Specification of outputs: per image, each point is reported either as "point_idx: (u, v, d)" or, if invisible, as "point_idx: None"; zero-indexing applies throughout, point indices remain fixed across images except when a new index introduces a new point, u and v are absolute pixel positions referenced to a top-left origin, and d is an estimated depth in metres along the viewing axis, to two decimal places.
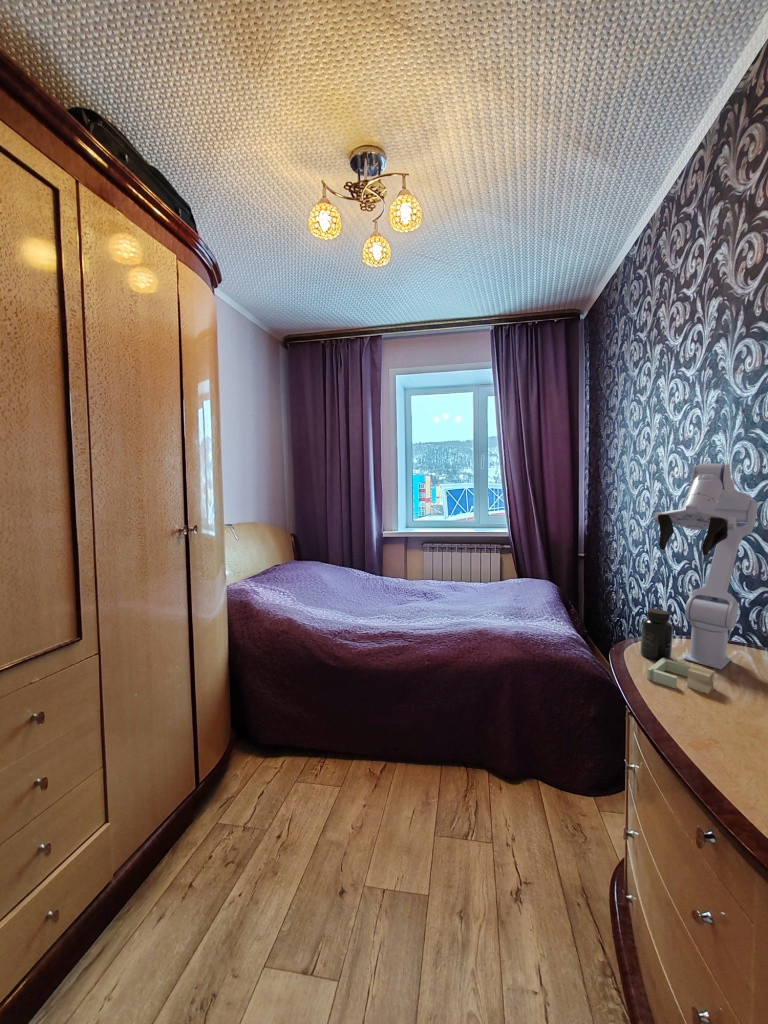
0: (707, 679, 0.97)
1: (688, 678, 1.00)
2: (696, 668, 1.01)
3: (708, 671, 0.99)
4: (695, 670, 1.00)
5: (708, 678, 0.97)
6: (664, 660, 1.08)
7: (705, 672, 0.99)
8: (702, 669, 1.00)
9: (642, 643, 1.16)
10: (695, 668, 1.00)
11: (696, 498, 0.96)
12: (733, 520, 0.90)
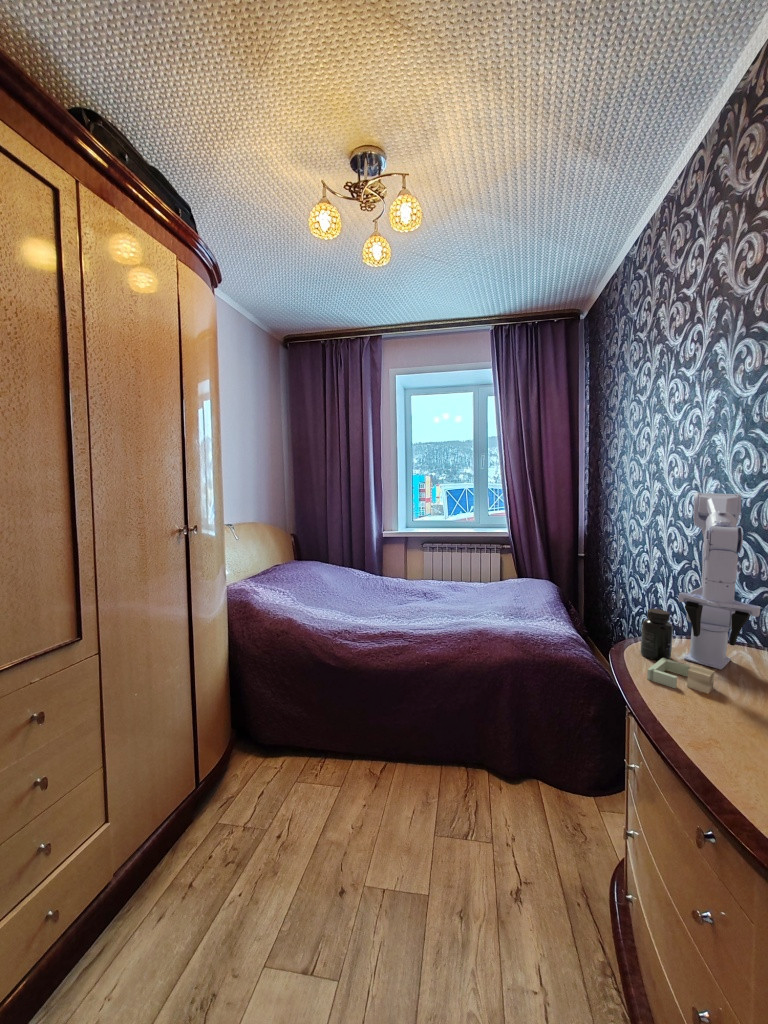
0: (707, 679, 0.97)
1: (688, 678, 1.00)
2: (697, 668, 1.00)
3: (708, 671, 0.99)
4: (695, 670, 1.00)
5: (708, 678, 0.97)
6: (664, 660, 1.08)
7: (706, 672, 0.99)
8: (702, 669, 1.00)
9: (642, 643, 1.16)
10: (695, 668, 1.00)
11: (714, 588, 0.98)
12: (756, 612, 0.94)
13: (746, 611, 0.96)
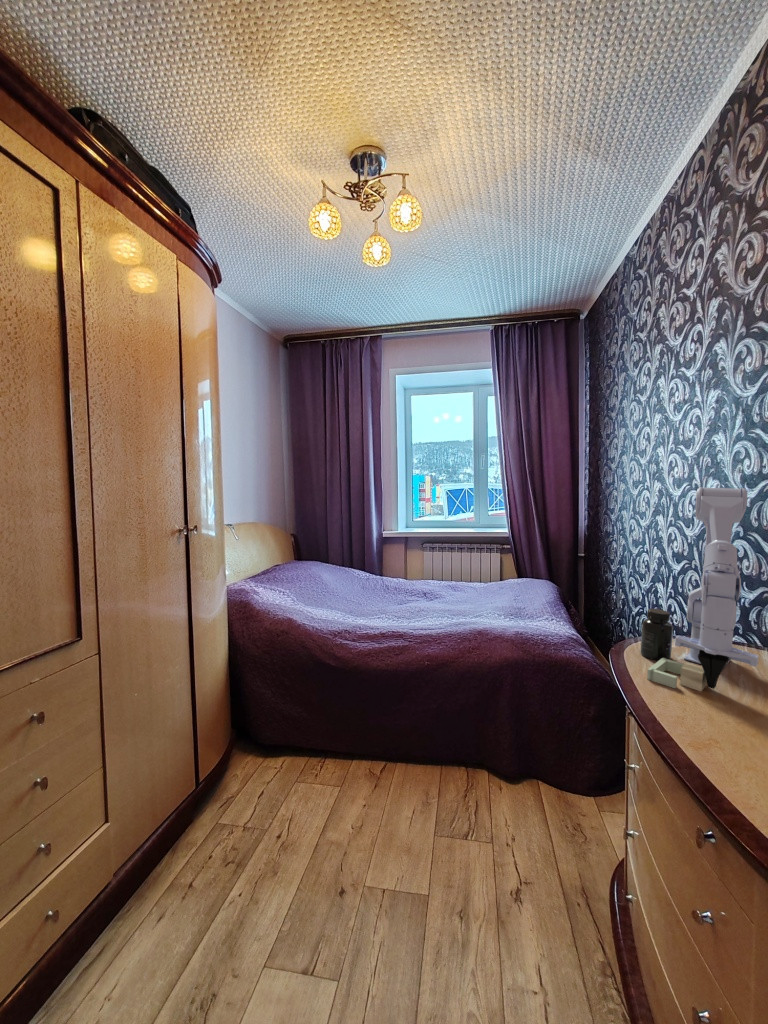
0: (700, 676, 0.98)
1: (681, 676, 1.01)
2: (690, 666, 1.01)
3: (701, 668, 1.00)
4: (688, 668, 1.00)
5: (701, 675, 0.98)
6: (664, 660, 1.08)
7: (699, 669, 1.00)
8: (695, 667, 1.01)
9: (642, 643, 1.16)
10: (688, 666, 1.01)
11: (712, 635, 0.95)
12: (755, 662, 0.91)
13: (744, 660, 0.93)
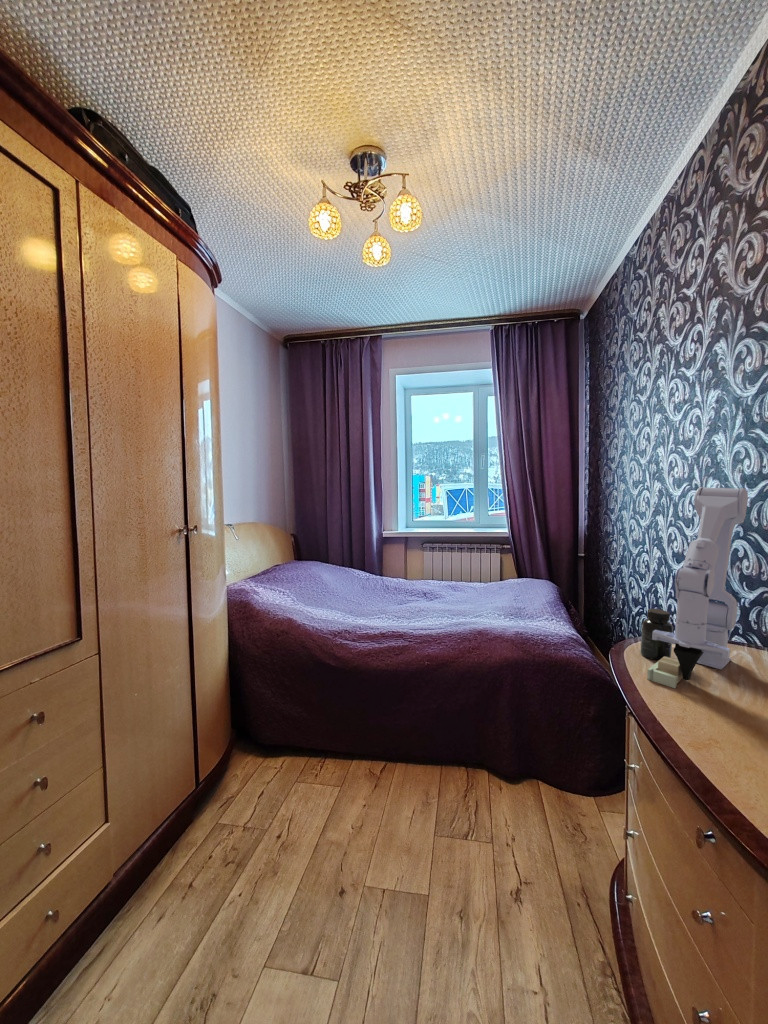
0: (675, 669, 1.01)
1: (658, 668, 1.04)
2: (667, 659, 1.05)
3: (677, 662, 1.03)
4: (665, 661, 1.04)
5: (677, 668, 1.01)
6: None
7: (675, 662, 1.03)
8: (672, 660, 1.04)
9: (642, 643, 1.16)
10: (665, 659, 1.05)
11: (686, 629, 0.99)
12: (726, 654, 0.95)
13: (716, 652, 0.97)
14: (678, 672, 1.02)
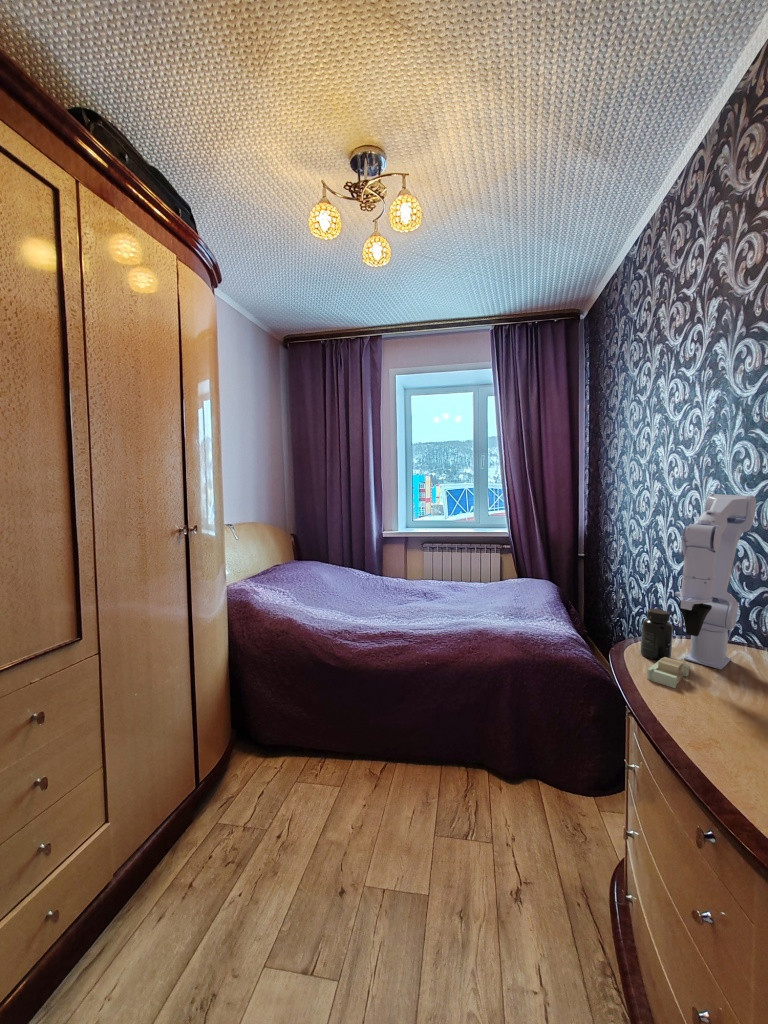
0: (676, 669, 1.01)
1: (658, 669, 1.04)
2: (667, 660, 1.05)
3: (677, 662, 1.03)
4: (665, 661, 1.04)
5: (677, 669, 1.01)
6: None
7: (675, 663, 1.03)
8: (672, 660, 1.04)
9: (642, 643, 1.16)
10: (665, 660, 1.05)
11: None
12: (680, 603, 0.99)
13: None
14: (678, 673, 1.02)
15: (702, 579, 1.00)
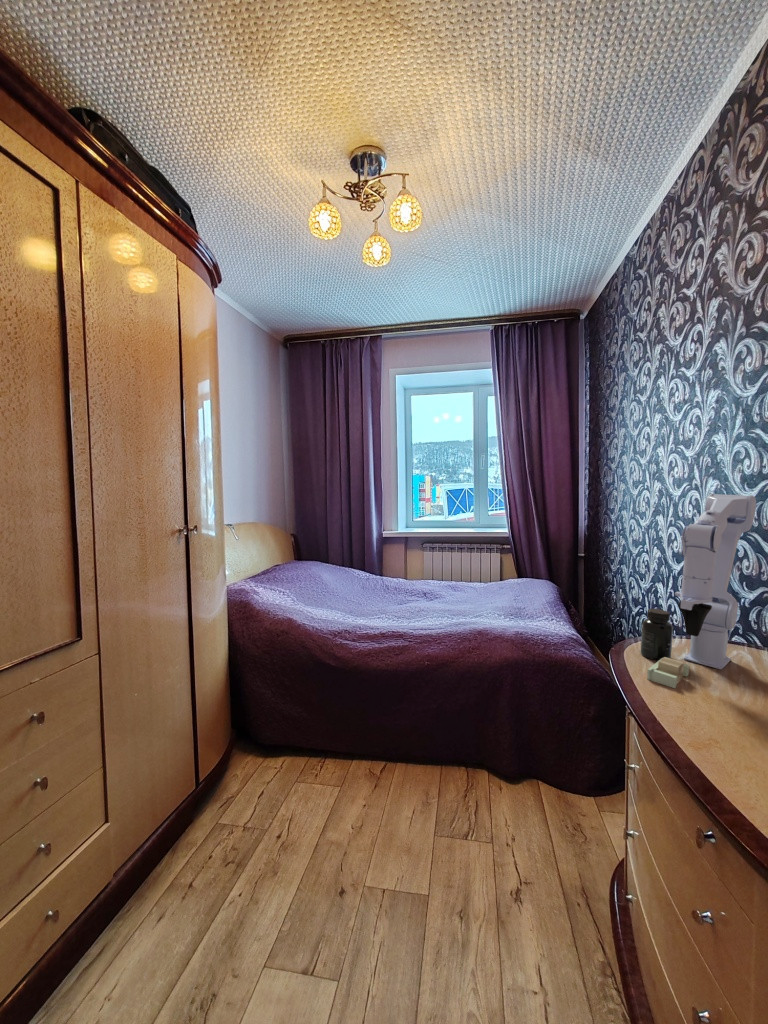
0: (676, 669, 1.01)
1: (658, 669, 1.04)
2: (667, 660, 1.05)
3: (677, 662, 1.03)
4: (665, 661, 1.04)
5: (677, 669, 1.01)
6: None
7: (675, 663, 1.03)
8: (672, 660, 1.04)
9: (642, 643, 1.16)
10: (665, 660, 1.05)
11: None
12: (680, 603, 0.99)
13: None
14: (678, 673, 1.02)
15: (702, 579, 1.00)
